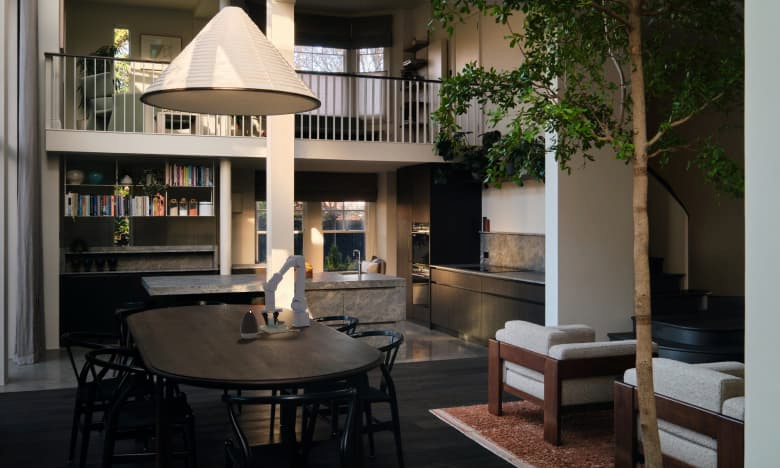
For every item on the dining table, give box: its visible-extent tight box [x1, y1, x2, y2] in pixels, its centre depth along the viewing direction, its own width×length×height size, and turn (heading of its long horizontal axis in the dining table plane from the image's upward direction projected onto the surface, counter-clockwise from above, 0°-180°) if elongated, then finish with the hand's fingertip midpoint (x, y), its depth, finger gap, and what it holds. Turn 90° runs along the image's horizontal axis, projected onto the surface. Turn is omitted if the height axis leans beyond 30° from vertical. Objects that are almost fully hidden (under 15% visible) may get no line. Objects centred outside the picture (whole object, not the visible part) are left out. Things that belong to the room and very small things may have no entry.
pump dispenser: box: [239, 311, 260, 340], centre depth 395 cm, size 10×10×15 cm
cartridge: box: [267, 316, 274, 327], centre depth 422 cm, size 4×4×6 cm
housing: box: [259, 322, 290, 334], centre depth 422 cm, size 12×19×4 cm, turn 28°
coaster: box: [289, 329, 301, 333], centre depth 418 cm, size 6×6×1 cm
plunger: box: [277, 320, 286, 325], centre depth 419 cm, size 4×4×3 cm
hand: (270, 324), depth 422 cm, fingers closed on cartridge, 4 cm apart
